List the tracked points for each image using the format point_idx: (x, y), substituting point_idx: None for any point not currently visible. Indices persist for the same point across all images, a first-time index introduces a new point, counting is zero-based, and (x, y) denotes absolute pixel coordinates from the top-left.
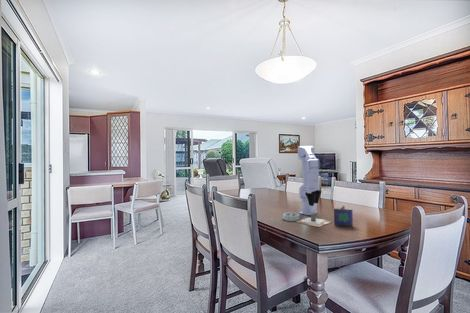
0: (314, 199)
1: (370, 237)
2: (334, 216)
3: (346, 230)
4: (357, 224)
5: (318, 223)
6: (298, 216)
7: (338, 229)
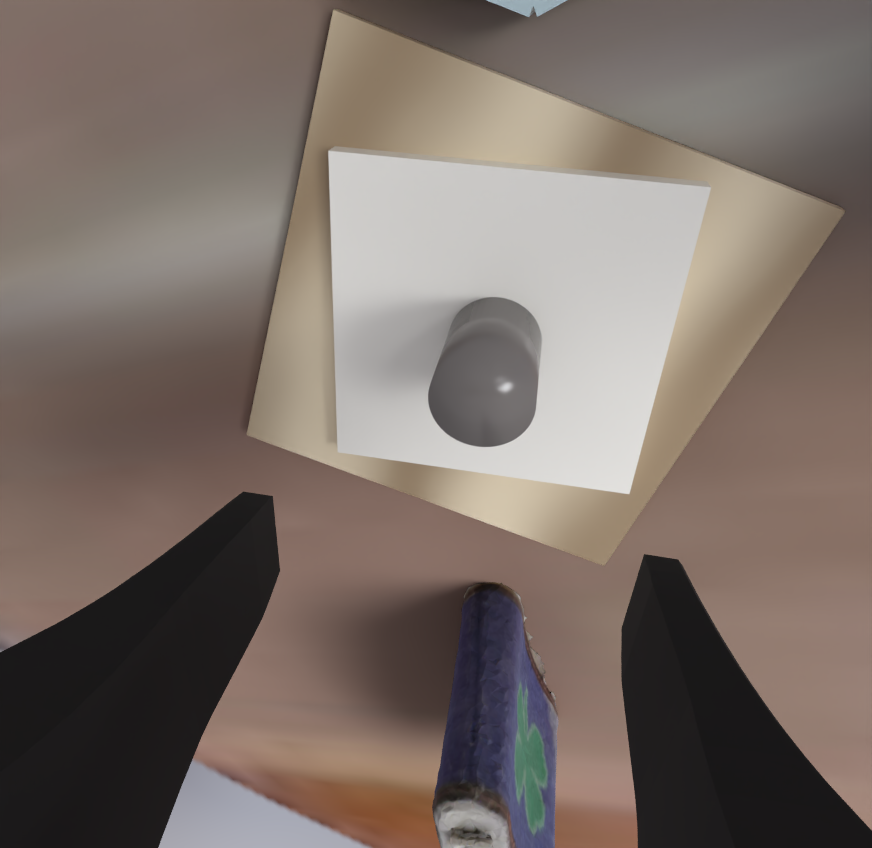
0: (655, 657)
1: (250, 783)
2: (462, 682)
3: (332, 672)
4: (630, 758)
5: (348, 437)
6: (504, 6)
7: (320, 617)
